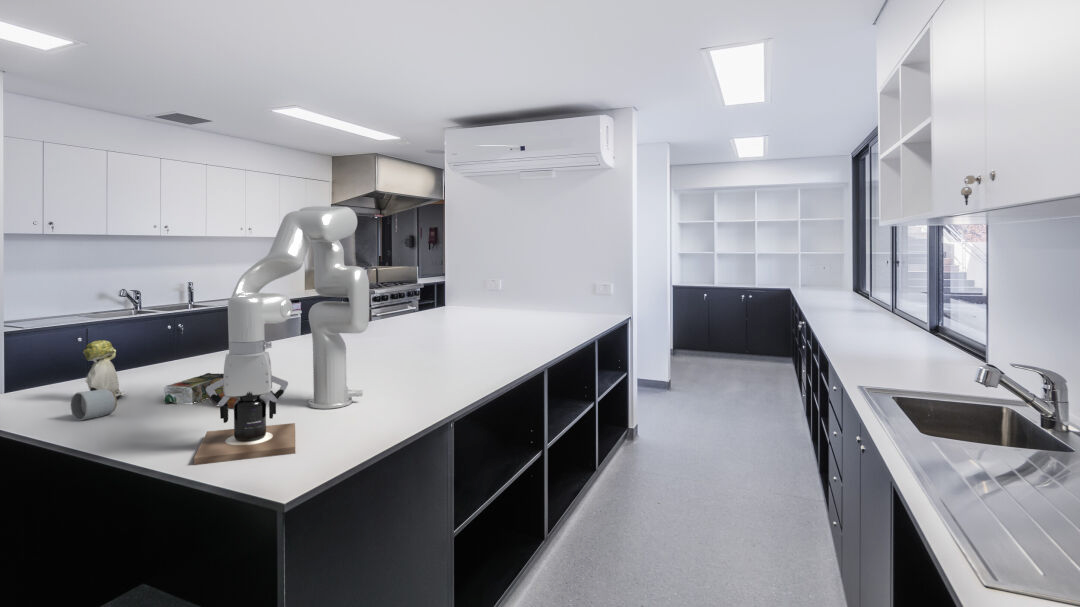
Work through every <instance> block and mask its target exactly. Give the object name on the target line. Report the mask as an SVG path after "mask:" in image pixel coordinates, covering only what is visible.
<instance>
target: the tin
mask: <svg viewBox="0 0 1080 607" xmlns="http://www.w3.org/2000/svg"><path fill="white" fill-rule="evenodd" d="M221 379H223V378H219V379H218V378H216V379H213V380H212V381H211V382H210V384H209V386H210V385H212V384H214V383H215V382H217V381H219V380H221ZM215 392H216V394H218V395H219V396H220V397H221V398H222V397H223V396H224V392H223V385H222V386H220V387H218V388H217V389H215ZM208 397H209V398H208V399H209V402H210V404H212V405H214V406H215V405H218V404H217V403H216V402H215V401H213V400H212V399H211V397H210V396H209V394H208ZM239 399H240V398H239V397H230V398H229V400H228V401H227V404H228V407H229V408H228V409H234V404H235V402H236V401H237V400H239Z"/></svg>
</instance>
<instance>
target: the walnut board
mask: <svg viewBox="0 0 1080 607" xmlns="http://www.w3.org/2000/svg"><path fill="white" fill-rule="evenodd" d="M292 454H296V423H295V422H293V423H292V422H291V423H282V424H281V423H280V424H270V425H266V435H265V437H264V438H262V439H259V440H255V441H247V442H242V441H237V440H236V439H235V438H234V428H229V429H228V428H227V429H221V430H220V429H218V430H209V431H206V433H205V435H204V437H203V439H202V441H201V442H200V445H199V447H198V449H197V451H196V453H195V455H194V457H193V465H194V466H196V465H204V464H206V465H207V464H214V463H222V462H223V463H224V462H231V461H232V462H233V461H239V460H240V461H241V460H248V459H257V458H264V457H274V456H282V455H292Z"/></svg>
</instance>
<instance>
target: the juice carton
mask: <svg viewBox="0 0 1080 607" xmlns="http://www.w3.org/2000/svg"><path fill="white" fill-rule="evenodd" d="M223 376H224V373H210V372H207V373H205V374H201V375H199V376H195V377H192V378H188V379H186V380H181V381H178V382H174V383H170V384H168V385H165V386H164V387H163V391H164V399H163V401H164V402H163V403H164V404H169V403H168V402H172V403H173V404H176V403H194V402H197V403H199V402H198V401H200V402H202V400H203V401H204V399H205V400H207V399H206V398H208V399H209V397H208V393H207V391H206V388H207V387H208V386H209V384H210V382H211V381H212V380H213V379H216V378H218V379H219V378H223ZM194 404H195V403H194Z"/></svg>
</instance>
